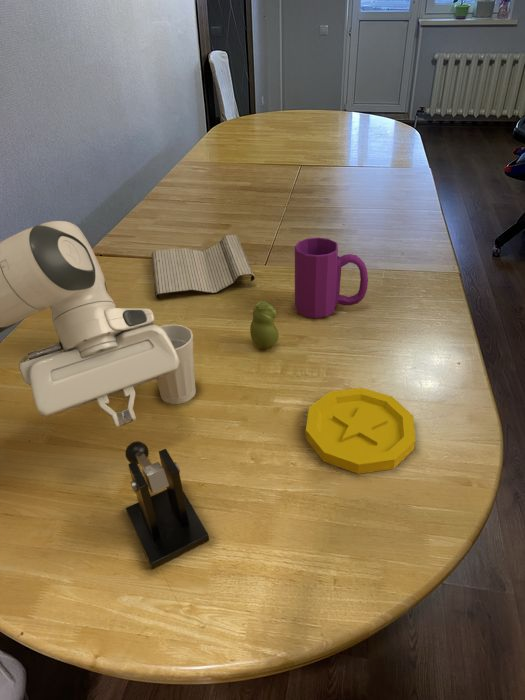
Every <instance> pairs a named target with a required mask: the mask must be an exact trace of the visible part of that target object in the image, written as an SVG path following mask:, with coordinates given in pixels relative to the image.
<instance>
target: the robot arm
mask: <svg viewBox="0 0 525 700" xmlns="http://www.w3.org/2000/svg"><path fill="white" fill-rule="evenodd" d="M105 283H106V280H105V275H104V272H103V270H102V267H101V266H100V263H99V260H98V258H97V256H96V254H95V252H94V250H93V248H92V247H91V244H90V243H89V241H88V239H87V237H86V236H85V234H84V233H83V232H82V230H81V229H80V227H79V226H77V225H76V224H74V223H73V222H70V221H65V220H51V221H46V222H42V223H40V224H37V225H35V226H32V227H29V228H26V229H23V230H21V231H20V232H17V233H15V234H13V235H11V236H9V237H7V238H5V239H3V240H1V241H0V334H1V333H3V332H5V331H6V330H7V329H9V328H11V327H12V326H14V325H16V324H17V323H19V322H21V321H23V320H25V319H27V318H29V317H31V316H33V315H35V314H38V313H40V312H42V311H44V310H46V309H47V308H48V307H49V308H50V311H51V321H52V324H53V327H54V330H55V332H56V335H57V338H58V340H59V342H57V343H54V344H51V345H48V346H45V347H43V348H41V349H35V350H31V351H29V352H27V353H26V355H25V356H24V357H22V359H21V360H20V362H19V367H18V368H19V371H20V374H21V377H22V380H23V381H24V383H26V384H27V385H29V386H30V387H31V388H30V389H31V392H32V397H33V401H34V404H35V408H36V411H37V413H38V415H40V416H41V417H43V418H46V419H49V418H52V417H54V416H57V415H60V414H63V413H66V412H68V411H71V410H74V409H77V408H80V407H82V406H86V405H88V404H91V403H94V402H96V403H97V406H98V408H99V409H100V410H101V411H102V412H104V413H105V414H106V415H107V416H109V417H111V420H112V422H113V425H114V427H115V429H117V428H120V427H122V426H125V425H127V424H129V423H132V422H134V421H137V416H136V414H135V411H134V403H135V398H136V391H135V387H138V386H141V385H144V384H147V383H150V382H152V381H157V380H156V379H158V378H161V377H164V376H167V375H170V374H172V373H174V372H176V370H177V369H178V367H179V364H180V360H179V357H178V355H177V353H176V350H175V348H174V346H173V344H172V342H171V341H170V339H169V337H168V335H167V334H166V332H165V331H164V330H163V329H162V328H161V327H160V326H159V325H157V324H154V323H155V314H154V313H153V311H152V309H150V308H143V307H142V308H141V307H140V308H135V307H134V308H133V307H132V308H131V307H129V308H128V307H127V308H126V307H116V304H115V302H114V300H113V299H112V297H111V296H110V294H109V292H108V290H107V291H106V288H107V286H106V287H105ZM107 292H108V293H107ZM119 393H122V396H123V398H124V399H128V400H127V403H126V404H127V405H126V409H125V410H122V411H119V412H116V411H115V410H113V409H112V408H111V407H110V406H109V404H110V399H109V397H110V396H114V395H116V394H119Z"/></svg>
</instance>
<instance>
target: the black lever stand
mask: <svg viewBox="0 0 525 700" xmlns="http://www.w3.org/2000/svg"><path fill="white" fill-rule="evenodd" d="M158 455H159V456H158V457H159V460H160V465H161V466H162V467H163V468H164V470H165V473H166V476H167V479H168V482H169V486H168V487H166V488H165V489H163V490H161V491H160V492H158V493H156V494H155V493H154V494H153V495H151V491H150V488H149V487H148V484H147V482H146V480H145V477H144V474H143V471H142V470H141V469H140V467H139V464H137V463H136V461H135V462H132V463H130V462H129V463H128V464H127V465H128V470H129V473H130V477H131V480H132V481H130V483H129V484H130V486H131V490H132V491H133V493H135V495H136V499H137V502H136V503H134V504H131V505H129V506H126V508H125V511H126V514H127V516H128V519H129V520H130V521H129V522H130V523H131V526H132V527H133V530H134V532H135V534H136V537H137V539H138V541H139V544H140V546H141V548H142V550H143V552H144V554H145V557H146V559H147V561H148V564H149V566H150V568H151V570H155V569H156V568H158V567H160V566H162V565H164V564H166V563H168V562H170V561H172V560H174V559H175V558H178V557H180V556H181V555H184V554H185V553H188V552H189V551H191V550H193V549H195V548H197V547H199V546H201V545H204V544H205V543H207V542H209V541H210V535H209V533H208V532H207V530H206V528H205V526H204V524H203V523H202V522H201V519H200V518H199V516H198V514H197V512H196V510H195V509H194V507H193V505H192V504H191V502H190V500H189V498H188V497H187V495H186V493H185V491H184V489H183V484H182V480H181V474H180V473H181V470H180V466H179V464H178V463H177V462H175V461H174V460H173V457H172V456H171V455H170V453H169V451H168V450H167V448H163V449H161V450H158Z"/></svg>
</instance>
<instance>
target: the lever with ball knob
mask: <svg viewBox="0 0 525 700" xmlns="http://www.w3.org/2000/svg"><path fill="white" fill-rule="evenodd" d="M149 453H150V452H149V448H148V446H147V444H146V443H144V442H143V441H142V442H141V441H132V442H130V443H129V444H128V445H127V446H126V449H125V453H124V454H125V455H124V456H125V458H126V460H127V462H128V463H129V464H130V463H132V462H135V461H136V463H137V465H139V466H140V467H141V472H142V474H143V476H144V478H145V480H146V482H147V484H148V488H149V491H150V492H152V494H155V493H157V492H158V491H162V490H164V489H167V487H168V486H169V482H168V479H167V476H166V473H165V470H164V468H163V467H162V465H161V462H159V461H157V462H153V463H152V462H151V460H150V459H149V458H148V457H149Z"/></svg>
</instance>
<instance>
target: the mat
mask: <svg viewBox="0 0 525 700" xmlns="http://www.w3.org/2000/svg"><path fill="white" fill-rule="evenodd" d="M151 263H152V277H153V284H154V285H153V287H154V295H155V298H157V299H160V295H161V296H162V295H169V294H177V293H184V292H200V293H206V294H207V293H208V294H217V293H219V292H222V291H223V290H225V289H227V288H228V287H230V286H232V285H234V283H235V282H236V281H237V280H238V279H239V278H240V277H242V276H248V275H249V276H250V282H253V281H255V279H256V277H255V274H254V272H253V270H252V267H251V265H250V262H249V260H248V257H247V256H246V253H245V250H244V249H243V246H242V243H241V241H240V238H239V235H236V234H227V235H224V236H222V238H221V240H220V241H218V242H217V243H215V244H214V245H212V246H210V247H208V248H206V249H204V250H197V249H192V248H186V247H180V248H168V249H167V248H166V249H155V250H153V251H152V252H151Z"/></svg>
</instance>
